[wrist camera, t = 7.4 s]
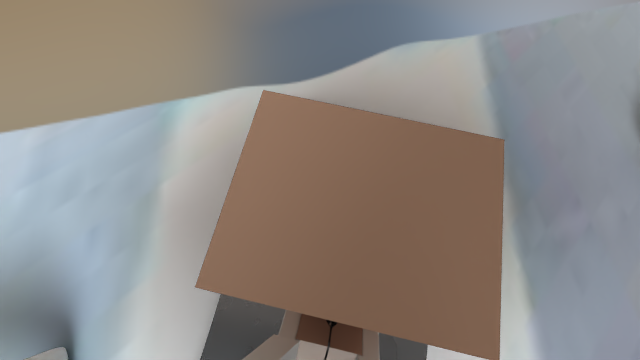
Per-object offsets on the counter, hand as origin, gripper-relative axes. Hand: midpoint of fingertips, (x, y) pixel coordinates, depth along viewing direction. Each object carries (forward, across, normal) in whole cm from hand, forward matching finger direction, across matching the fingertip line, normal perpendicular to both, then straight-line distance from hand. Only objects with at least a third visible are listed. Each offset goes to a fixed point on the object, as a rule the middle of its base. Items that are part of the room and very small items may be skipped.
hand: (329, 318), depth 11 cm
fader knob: (+5, 0, +1) cm, 5 cm away
